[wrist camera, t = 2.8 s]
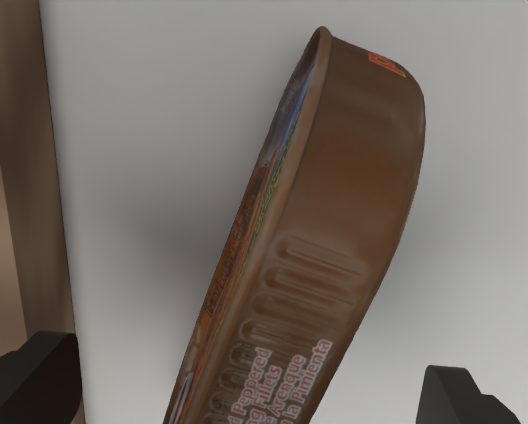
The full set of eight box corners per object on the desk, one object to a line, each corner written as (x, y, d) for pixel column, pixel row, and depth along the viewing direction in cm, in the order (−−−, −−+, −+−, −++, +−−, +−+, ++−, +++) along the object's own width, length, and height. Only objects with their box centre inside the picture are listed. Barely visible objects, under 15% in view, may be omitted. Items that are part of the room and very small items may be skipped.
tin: (304, 35, 14) (311, -14, 6) (393, 71, 14) (517, 70, 6) (172, 382, 19) (78, 614, 11) (239, 407, 19) (196, 654, 11)
